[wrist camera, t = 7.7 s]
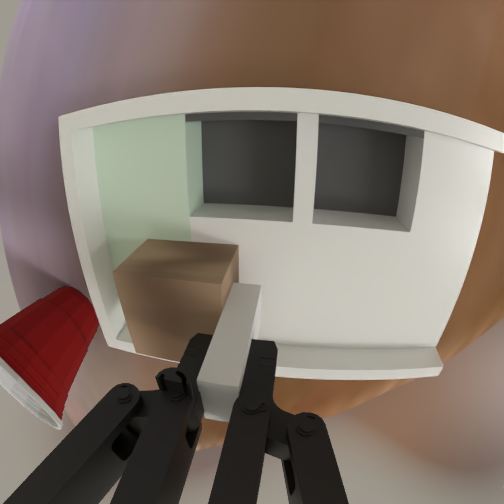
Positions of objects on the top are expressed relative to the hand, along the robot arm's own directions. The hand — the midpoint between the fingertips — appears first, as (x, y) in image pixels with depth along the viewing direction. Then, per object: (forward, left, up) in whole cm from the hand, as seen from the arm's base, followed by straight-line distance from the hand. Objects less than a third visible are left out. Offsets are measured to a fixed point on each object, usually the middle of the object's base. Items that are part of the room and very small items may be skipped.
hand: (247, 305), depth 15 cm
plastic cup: (+18, +7, -5) cm, 20 cm away
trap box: (-2, -3, -5) cm, 6 cm away
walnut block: (+3, 0, -2) cm, 4 cm away
